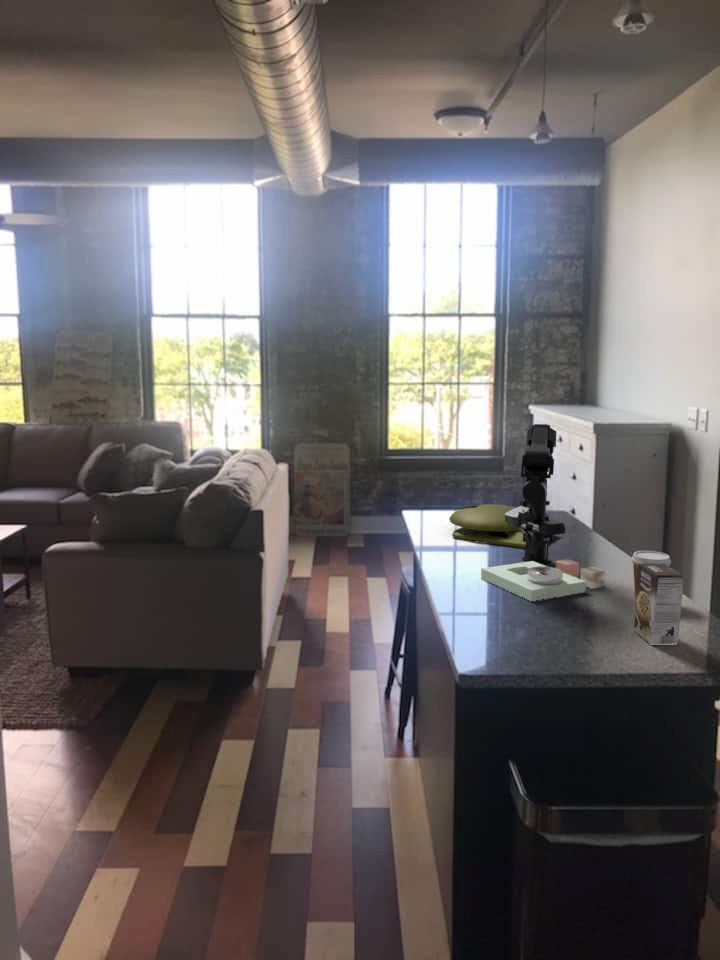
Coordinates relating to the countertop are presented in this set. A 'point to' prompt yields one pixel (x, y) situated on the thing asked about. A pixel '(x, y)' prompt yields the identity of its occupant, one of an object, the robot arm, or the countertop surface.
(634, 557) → the disposable coffee cup
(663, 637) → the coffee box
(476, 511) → the spaceship
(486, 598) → the countertop surface
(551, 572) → the metal puck
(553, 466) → the robot arm
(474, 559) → the countertop surface
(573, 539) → the countertop surface
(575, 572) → the terracotta cube
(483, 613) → the countertop surface
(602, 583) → the birch cube
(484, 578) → the pocket deck
